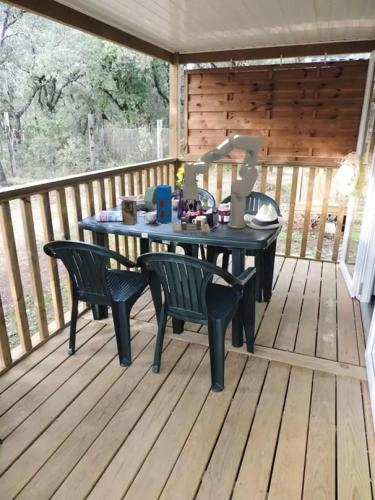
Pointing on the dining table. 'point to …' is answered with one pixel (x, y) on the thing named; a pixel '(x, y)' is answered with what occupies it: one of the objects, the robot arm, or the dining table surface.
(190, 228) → the panel
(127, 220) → the coffee box
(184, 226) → the breaker
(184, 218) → the breaker
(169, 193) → the blue tall box
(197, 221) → the breaker mid
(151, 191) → the planter
